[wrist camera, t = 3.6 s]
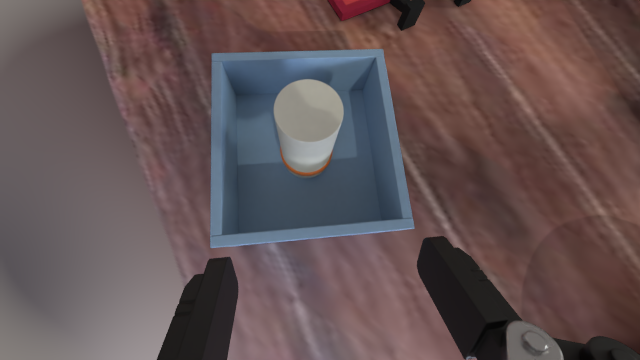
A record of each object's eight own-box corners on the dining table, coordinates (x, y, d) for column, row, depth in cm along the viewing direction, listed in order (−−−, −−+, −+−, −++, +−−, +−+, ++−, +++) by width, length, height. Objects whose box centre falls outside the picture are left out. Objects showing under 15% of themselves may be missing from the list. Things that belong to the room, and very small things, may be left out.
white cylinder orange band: (297, 126, 25) (296, 64, 16) (338, 148, 25) (359, 99, 16) (272, 164, 24) (256, 120, 15) (315, 189, 24) (323, 158, 15)
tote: (230, 92, 26) (211, 52, 21) (366, 86, 28) (383, 48, 22) (231, 246, 23) (209, 248, 17) (389, 231, 24) (415, 228, 18)
